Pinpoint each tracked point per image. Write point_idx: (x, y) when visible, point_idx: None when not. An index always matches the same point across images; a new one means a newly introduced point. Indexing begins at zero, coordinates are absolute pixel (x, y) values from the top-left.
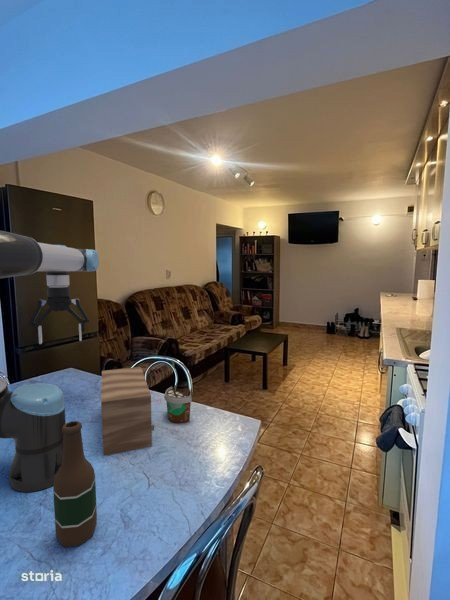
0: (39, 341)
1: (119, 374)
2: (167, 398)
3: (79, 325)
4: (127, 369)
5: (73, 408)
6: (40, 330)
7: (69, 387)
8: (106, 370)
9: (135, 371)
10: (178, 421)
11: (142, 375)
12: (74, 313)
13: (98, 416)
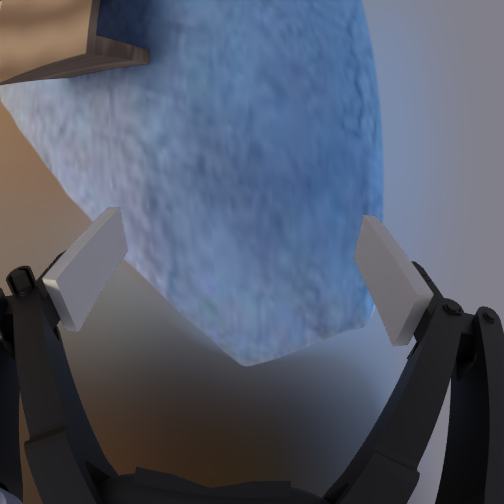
0: (379, 224)
1: (44, 11)
2: None
3: (56, 274)
4: (19, 60)
5: (224, 119)
6: (404, 272)
7: (241, 267)
8: (71, 54)
9: (6, 39)
10: None
11: (2, 7)
12: (26, 386)
13: (162, 50)
